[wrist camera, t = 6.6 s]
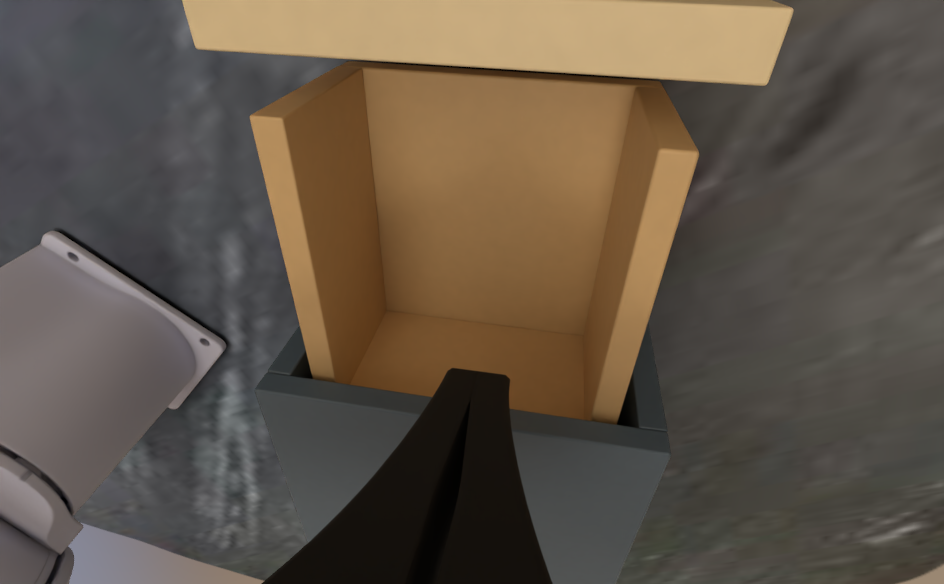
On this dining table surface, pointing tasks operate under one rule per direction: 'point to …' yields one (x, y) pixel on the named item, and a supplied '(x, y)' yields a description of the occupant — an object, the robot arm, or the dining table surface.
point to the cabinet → (536, 445)
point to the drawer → (485, 179)
